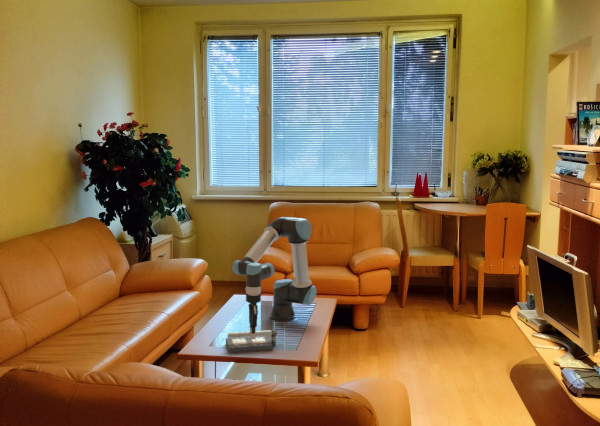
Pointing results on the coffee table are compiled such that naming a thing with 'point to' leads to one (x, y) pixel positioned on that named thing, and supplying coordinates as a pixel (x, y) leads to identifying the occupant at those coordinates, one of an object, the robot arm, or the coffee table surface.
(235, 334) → the ball-tipped flat stick
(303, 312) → the coffee table surface
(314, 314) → the coffee table surface
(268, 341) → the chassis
